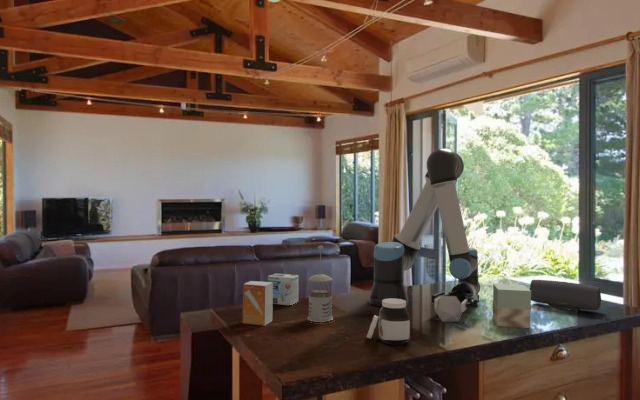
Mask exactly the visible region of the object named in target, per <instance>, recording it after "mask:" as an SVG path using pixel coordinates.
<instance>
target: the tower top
mask: <svg viewBox="0 0 640 400" xmlns="http://www.w3.org/2000/svg"><path fill="white" fill-rule="evenodd" d="M492 286H493V289H492V290H493V291H492V292H493V293H492V298H493V299H492V303H493V302H494V303H495V305H496V306H497V308H509V309H526V310H530V311H531V309H532V300H531V291H530V288H528V287H527V286H526V285H525V284H506V283H504V284H503V283H493V285H492Z"/></svg>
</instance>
